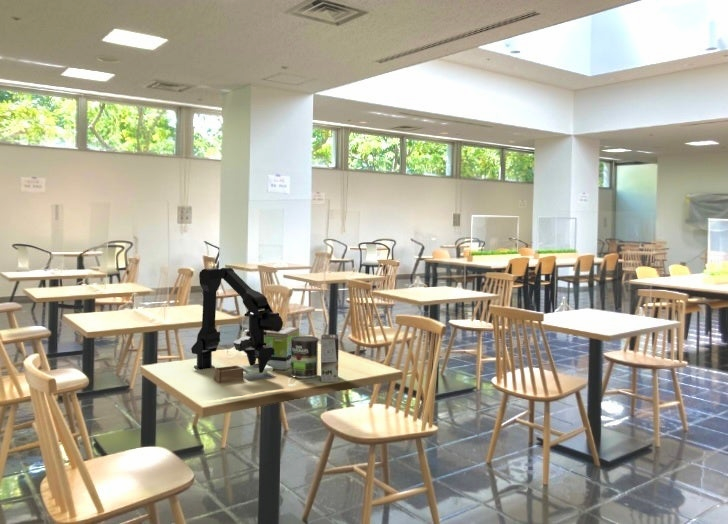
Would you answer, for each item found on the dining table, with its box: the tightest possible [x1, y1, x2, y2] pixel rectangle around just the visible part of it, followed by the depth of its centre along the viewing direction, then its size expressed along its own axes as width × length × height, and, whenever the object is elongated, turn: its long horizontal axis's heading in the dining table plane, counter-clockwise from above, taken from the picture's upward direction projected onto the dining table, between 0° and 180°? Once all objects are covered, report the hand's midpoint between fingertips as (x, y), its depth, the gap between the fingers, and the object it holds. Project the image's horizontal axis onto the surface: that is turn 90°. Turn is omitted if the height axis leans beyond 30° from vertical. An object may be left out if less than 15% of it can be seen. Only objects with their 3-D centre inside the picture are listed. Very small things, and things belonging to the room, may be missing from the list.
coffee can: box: [290, 335, 319, 379], centre depth 226 cm, size 10×10×14 cm
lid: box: [241, 363, 274, 375], centre depth 221 cm, size 7×10×3 cm
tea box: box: [264, 326, 300, 371], centre depth 241 cm, size 15×10×15 cm, turn 168°
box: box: [213, 364, 244, 384], centre depth 215 cm, size 5×9×5 cm, turn 125°
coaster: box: [243, 371, 277, 382], centre depth 221 cm, size 11×11×1 cm
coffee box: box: [320, 333, 340, 383], centre depth 220 cm, size 9×6×16 cm
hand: (256, 370), depth 221 cm, fingers closed on lid, 7 cm apart
